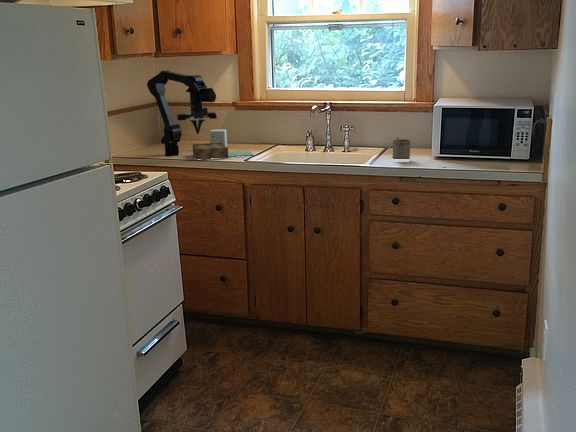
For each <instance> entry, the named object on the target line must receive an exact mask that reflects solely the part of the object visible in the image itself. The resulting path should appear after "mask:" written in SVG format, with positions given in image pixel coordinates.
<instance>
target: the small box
mask: <svg viewBox="0 0 576 432" xmlns="http://www.w3.org/2000/svg"><path fill="white" fill-rule="evenodd" d="M227 134H228V133H227V129H211V130H210V131H209V137H210V139H209V140H210V143H222V144H223V145H224V146H226V147H228V137H227Z"/></svg>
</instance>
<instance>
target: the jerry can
mask: <svg viewBox="0 0 576 432" xmlns="http://www.w3.org/2000/svg"><path fill="white" fill-rule="evenodd" d="M411 142H412V140H409V139H403V138H402V139H401V138H400V137H395V139H393V140H392V157H391V159H392V158H393V159H409V158H410V159H411V157H410V156H411Z"/></svg>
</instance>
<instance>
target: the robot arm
mask: <svg viewBox="0 0 576 432" xmlns="http://www.w3.org/2000/svg"><path fill="white" fill-rule="evenodd" d="M202 77H203V76H202V75H200V74H189V75H188V74H183V73H180V72H176V71H175V72H174V71H170V70H167V69H165V70H161V71H160V72H158V73H157V74H156V75H154V76H153V77H152V78H150V79H148V81H147V83H146V87H147V89H148V91H149V93H150V94H151V95H152V96H153V97H154V98H155V102H156V104H157V107H158V110H159V112H160V116H161V119H162V122H163V125H164V126H163V134H164V135H163V136H162V137H161V138H160V142H161V144H162V145H164V156H166V157H173V156H174V155H175V156H179V154H180V148H179V147H180V146H179V145H178V143H180V142H181V138H182V135H183V134H182V132H183V131H182V129H181V125H180V123H176V122H175V121H174V118H173V115H172V111H171V109H170V107H169V104H168V100H167V97H166V95H165V94H166V84H167V83H168V82H169V81H173V82H176V83H181V84H183V85H184V86H186V87H188V88H187V89H186V90H185V93H189V104H190V105H189V106H190V107H189V109H190V114H186V112H183V113H177V114H176V120H178V121H185V120H187V119H188V121H189V122H191V124H192V125H193V127H194V130H195V132H196V134H197V135H200V130H201V127H202V124H203V122H205V121H206V119H207V118H208V119H211V120H216V119H217V117H218V116H217V113H216V112H215V111H209V110H208V107H203V103H215V102H216V100H217V95H216V91H215V90H214V88H213V87H208V86H207V84H206V83H205V81H204V79H203V78H202ZM208 111H209V112H208ZM196 119H197V120H196Z"/></svg>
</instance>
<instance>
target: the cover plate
mask: <svg viewBox="0 0 576 432" xmlns="http://www.w3.org/2000/svg"><path fill="white" fill-rule="evenodd" d="M237 156H254V157H255V154H254V153H252V152H251V151H250V150H249V149H248V150H247V149H246V150H234V151H233V150H232V151H228V157H237ZM237 158H238V157H237Z"/></svg>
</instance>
